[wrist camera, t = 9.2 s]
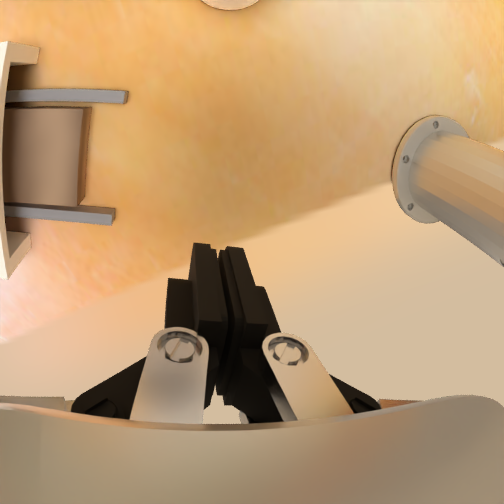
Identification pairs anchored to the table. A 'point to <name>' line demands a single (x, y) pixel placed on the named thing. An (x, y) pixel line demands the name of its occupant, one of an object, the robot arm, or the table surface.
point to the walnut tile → (45, 154)
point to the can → (230, 4)
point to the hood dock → (3, 242)
